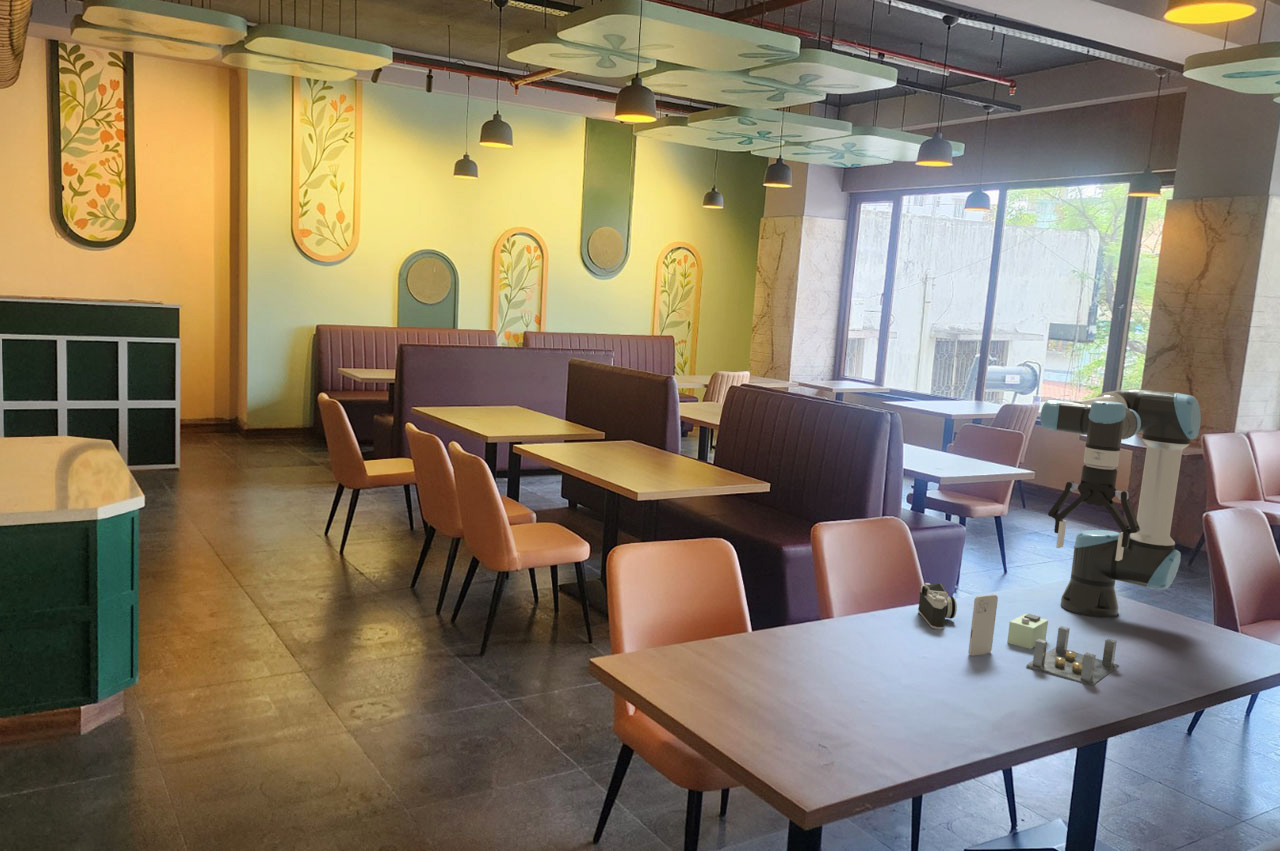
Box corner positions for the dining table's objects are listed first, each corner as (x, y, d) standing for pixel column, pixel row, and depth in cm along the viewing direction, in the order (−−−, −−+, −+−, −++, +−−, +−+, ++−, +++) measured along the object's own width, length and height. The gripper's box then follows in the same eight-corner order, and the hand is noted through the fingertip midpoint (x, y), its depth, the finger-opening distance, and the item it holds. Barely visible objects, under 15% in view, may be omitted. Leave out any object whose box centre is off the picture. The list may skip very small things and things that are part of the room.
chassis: (1055, 651, 246) (1058, 624, 245) (1118, 669, 236) (1122, 641, 235) (1026, 669, 232) (1029, 640, 231) (1091, 689, 222) (1096, 659, 221)
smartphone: (989, 652, 243) (996, 593, 241) (992, 653, 242) (999, 595, 240) (967, 655, 239) (974, 596, 237) (971, 657, 238) (978, 597, 236)
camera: (962, 631, 257) (967, 594, 256) (929, 629, 258) (933, 592, 256) (945, 612, 273) (949, 577, 272) (914, 609, 273) (918, 575, 272)
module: (1022, 635, 257) (1025, 610, 256) (1045, 642, 253) (1048, 616, 252) (1006, 644, 250) (1010, 617, 249) (1030, 651, 246) (1033, 624, 245)
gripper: (1041, 459, 238) (1030, 544, 241) (1152, 476, 221) (1140, 568, 224) (1052, 456, 243) (1041, 539, 246) (1161, 473, 227) (1149, 562, 230)
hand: (1088, 553), depth 235 cm, fingers open, 13 cm apart
